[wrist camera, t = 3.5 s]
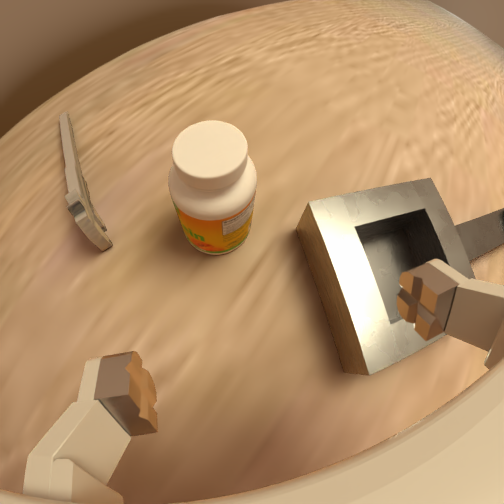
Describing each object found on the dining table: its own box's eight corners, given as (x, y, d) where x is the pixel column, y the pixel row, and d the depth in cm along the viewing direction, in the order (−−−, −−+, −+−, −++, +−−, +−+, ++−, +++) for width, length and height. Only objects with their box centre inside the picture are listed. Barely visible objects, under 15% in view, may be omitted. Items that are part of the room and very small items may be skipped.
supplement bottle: (170, 221, 24) (139, 144, 14) (222, 184, 25) (218, 99, 16) (211, 270, 22) (197, 211, 13) (264, 228, 24) (283, 152, 15)
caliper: (115, 248, 23) (83, 214, 17) (105, 254, 23) (71, 223, 17) (69, 113, 28) (50, 77, 22) (61, 118, 28) (42, 82, 22)
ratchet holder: (344, 372, 20) (369, 375, 16) (295, 228, 24) (308, 201, 20) (520, 272, 24) (545, 260, 20) (483, 184, 28) (503, 166, 24)
